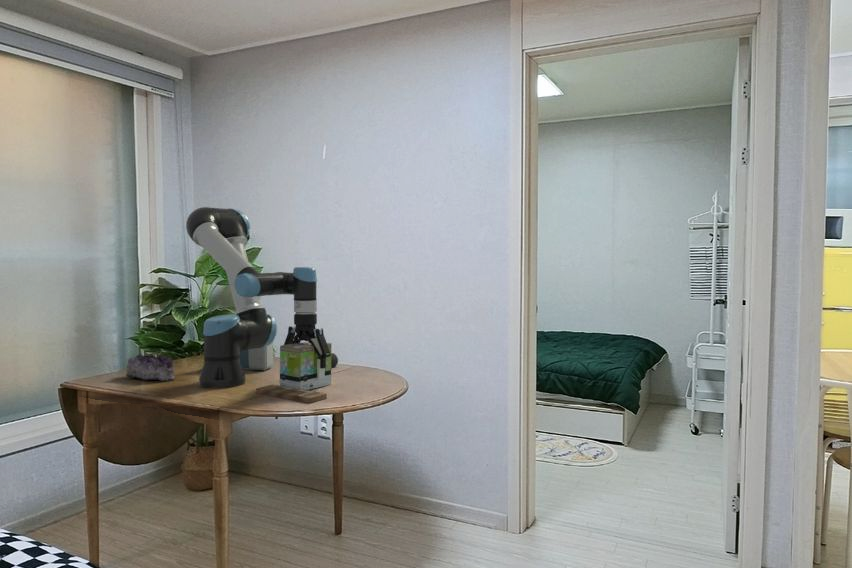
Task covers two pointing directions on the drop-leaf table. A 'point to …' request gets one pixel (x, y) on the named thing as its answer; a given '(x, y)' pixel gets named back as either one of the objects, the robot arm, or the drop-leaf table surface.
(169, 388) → the drop-leaf table surface
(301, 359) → the tea box
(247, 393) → the drop-leaf table surface
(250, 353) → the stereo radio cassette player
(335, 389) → the drop-leaf table surface
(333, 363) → the flashlight
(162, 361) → the geode
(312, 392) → the walnut plank
